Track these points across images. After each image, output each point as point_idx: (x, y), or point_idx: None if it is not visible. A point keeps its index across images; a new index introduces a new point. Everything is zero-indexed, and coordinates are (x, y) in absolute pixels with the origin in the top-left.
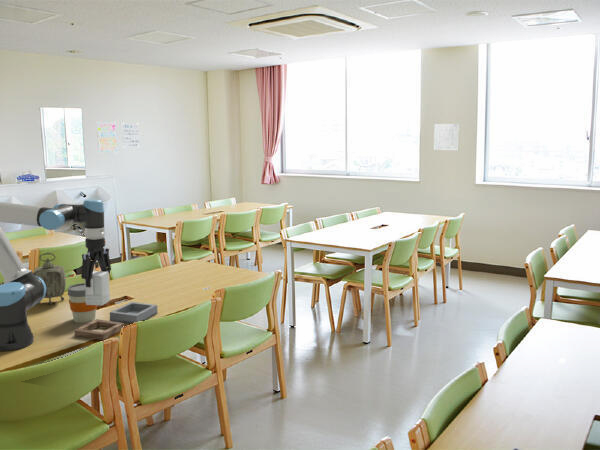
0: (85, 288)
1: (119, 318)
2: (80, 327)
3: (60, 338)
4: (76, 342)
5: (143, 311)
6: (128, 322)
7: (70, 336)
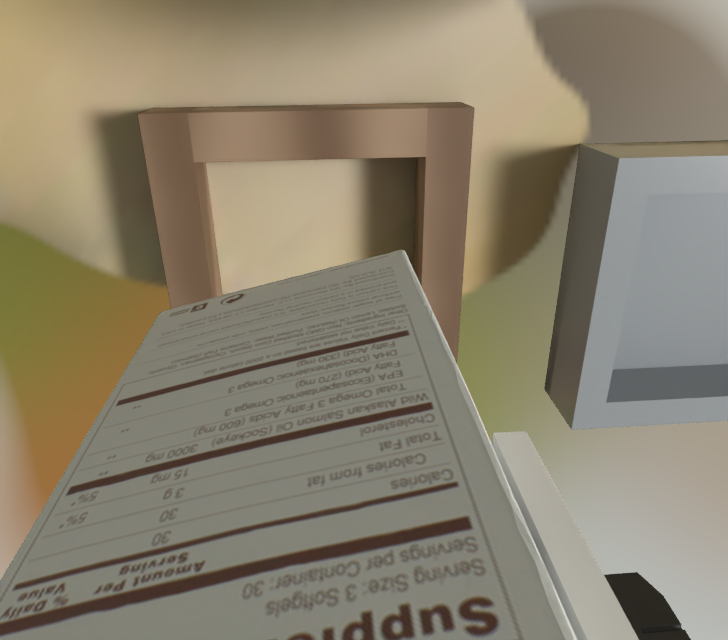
0: (64, 487)
1: (578, 254)
2: (221, 118)
3: (38, 22)
4: (59, 230)
5: (683, 414)
6: (556, 326)
7: (125, 78)
